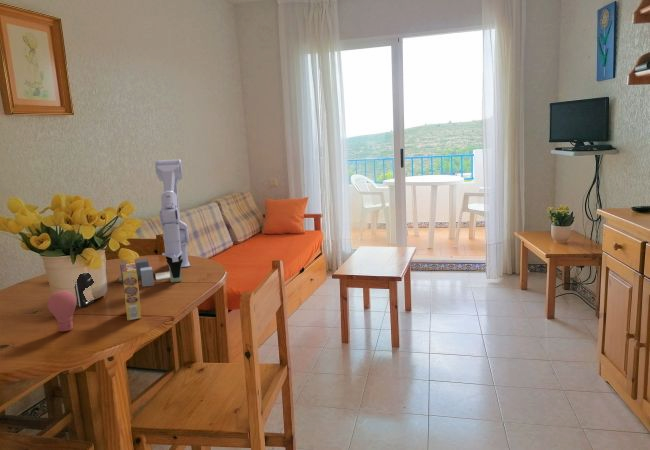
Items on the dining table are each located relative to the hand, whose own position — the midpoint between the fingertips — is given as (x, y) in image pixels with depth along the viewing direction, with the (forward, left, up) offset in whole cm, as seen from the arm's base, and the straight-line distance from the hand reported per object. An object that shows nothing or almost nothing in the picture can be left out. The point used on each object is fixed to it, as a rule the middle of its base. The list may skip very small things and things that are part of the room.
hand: (175, 275), depth 176 cm
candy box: (+30, -15, -2) cm, 34 cm away
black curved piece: (+12, -29, -2) cm, 31 cm away
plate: (-7, -3, -2) cm, 8 cm away
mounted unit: (-11, -14, -2) cm, 18 cm away
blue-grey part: (0, -10, -2) cm, 10 cm away
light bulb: (+34, -33, -2) cm, 47 cm away
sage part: (0, 0, -2) cm, 2 cm away
